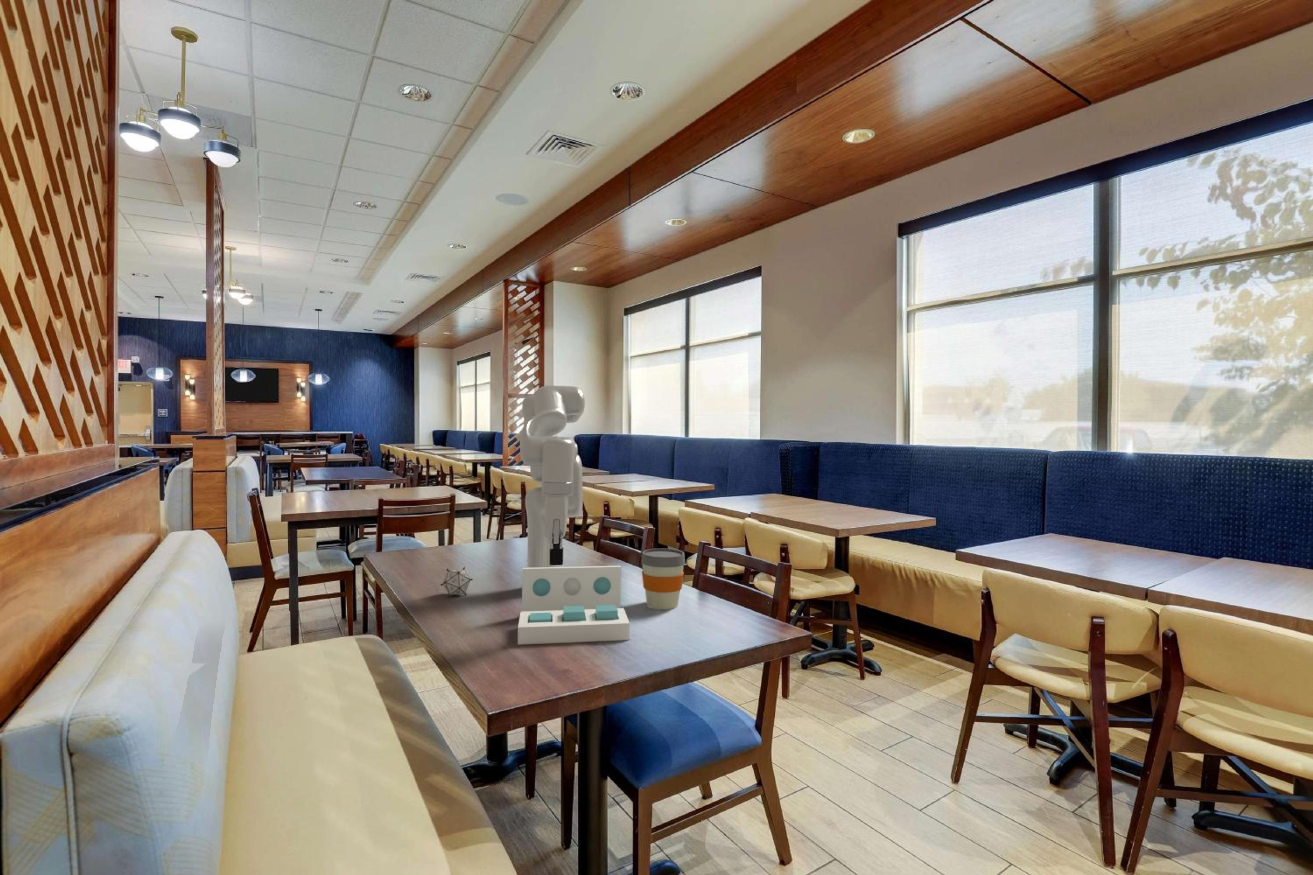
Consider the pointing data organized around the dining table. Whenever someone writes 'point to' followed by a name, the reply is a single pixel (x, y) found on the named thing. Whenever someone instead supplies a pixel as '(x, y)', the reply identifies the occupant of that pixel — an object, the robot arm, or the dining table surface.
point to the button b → (573, 613)
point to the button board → (572, 628)
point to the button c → (606, 612)
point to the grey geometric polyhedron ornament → (456, 582)
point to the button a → (540, 617)
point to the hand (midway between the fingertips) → (556, 564)
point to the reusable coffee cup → (662, 577)
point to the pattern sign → (570, 587)
